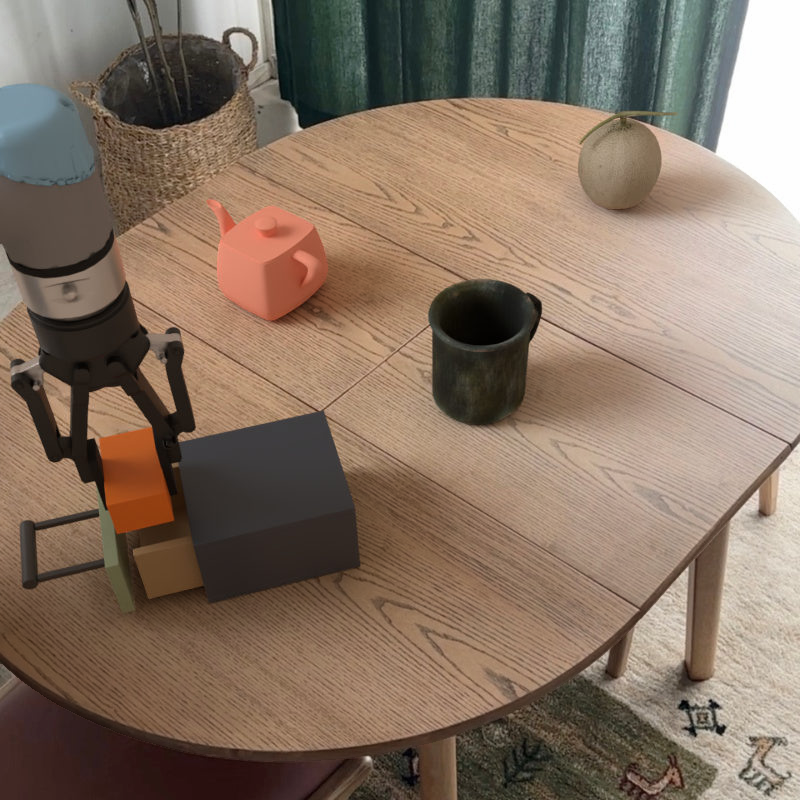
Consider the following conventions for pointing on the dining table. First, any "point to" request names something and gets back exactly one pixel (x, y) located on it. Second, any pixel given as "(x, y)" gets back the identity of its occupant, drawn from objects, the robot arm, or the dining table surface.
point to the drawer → (126, 553)
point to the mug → (481, 348)
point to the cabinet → (268, 506)
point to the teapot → (269, 260)
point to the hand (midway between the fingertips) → (140, 490)
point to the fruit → (620, 160)
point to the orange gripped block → (134, 481)
